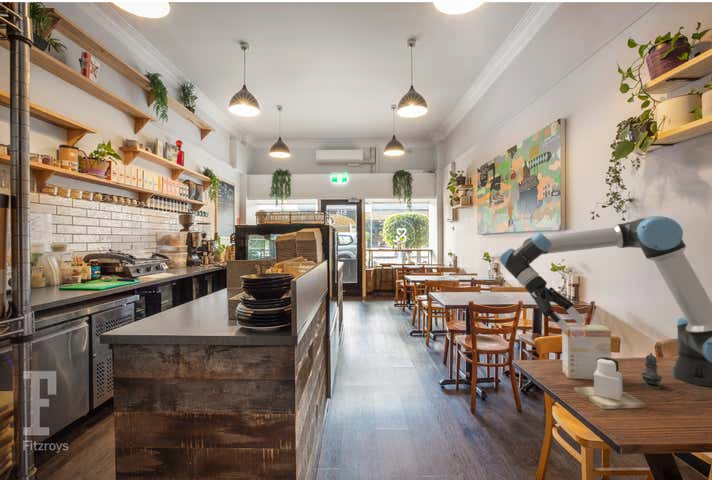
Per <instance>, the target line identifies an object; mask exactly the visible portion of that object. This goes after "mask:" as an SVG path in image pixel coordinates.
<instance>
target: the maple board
mask: <svg viewBox="0 0 712 480" xmlns="http://www.w3.org/2000/svg"><path fill="white" fill-rule="evenodd" d="M573 391H574V392H576V393H577V394H579V395H580V396H582V397H583V398H585V399H587V400H588V401H589V402H591V403H592V404H594V405H596V406H598V408H600V409H602V410H610V409H612V410H615V409H638V408H639V409H641V408H642V409H643V408H647V406H646V404H647V403H645V402H643V401H641V400H640V399H638V398H637V397H634V396H632V395H630V394H629V393H627V392H625V391H624V390H622V396H621V398H620V400H619V401H618V400H613V399H609V398H605V397H601V396H596V395H594V386H577V387H575V386H574V388H573Z"/></svg>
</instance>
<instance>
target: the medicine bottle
mask: <svg viewBox="0 0 712 480" xmlns="http://www.w3.org/2000/svg"><path fill="white" fill-rule="evenodd" d="M592 381H593V386H592V387H594V395H596V396H601V397H605V398H609V399H613V400H618V401H619V400H620V398H621V396H622V391H623V374H622V373H621V372H619V361H618V360H616V359H614V358H612V357H611V358H606V357H601V358H598V359H597V370H596V371H595V373H594V374H593V380H592Z"/></svg>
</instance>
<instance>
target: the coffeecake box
mask: <svg viewBox="0 0 712 480" xmlns="http://www.w3.org/2000/svg"><path fill="white" fill-rule="evenodd" d="M568 325H569V326H570V327H569V328H567V329H566V330H565V331H563V330H562V329H561V343H562V345H561V349H562V351H561V352H562V353H561V354H562V355H561V358H562V373H563V374H564V375H565V376H566V377H567V378H568V379H573V380H574V379H575V380H592V381H593V374H594V373H595V371H596V370H597V359H598V358H601V357H606V358H612V342H611V341H612V335H611V334H612V331H611V329H609V328H607V327H606V326H605V325H601V324H600V325H599V324H597V325H596V324H581V325H579V324H568Z"/></svg>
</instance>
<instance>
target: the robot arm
mask: <svg viewBox="0 0 712 480" xmlns="http://www.w3.org/2000/svg"><path fill="white" fill-rule="evenodd" d="M683 237H684V232H683V228H682V226H681V225H680V224H679V223H678V222H677V221H676V220H675V219H672V218H671V217H666V216H660V215H655V216H654V215H653V216H649V217H642V218H639V219H636V220H633V221H629V222H624V223H618V224H617V223H616V224H615V225H614V226H613V227H608V228H607V227H605V228H600V229H592V230H583V231H575V232H569V233H561V234H553V235H552V234H551V235H544V234H543V233H541V232H536V233H535V234H534V235H532V236H531V237H529V238H527V239H525V240H524V241H523V243H522V244H521V246H519V247H518V248H517V249H514V248H508V249H507V250H505V251H504V252H503V253H501V255H500V256H499V262H500V263H501V265H502V266H503V267H504V268H505V269H506V270H507V271H508V272H509V273H510V274H511V275H512V276H513V277H514V278H515V279H516V280H517V281H518V283H519V285H521V286H522V287H524V288H525V290H526V291H527V292H528V293H529V294H530V296H531V297H532V299H533V300H534V302H535V304H536V305H537V307H538V308H539V311H540V312H541V314H542V315H543V316H545V318H548V317H549V318H550V319H551V320H552V321H553V322H554V323H555V324H556V325H557V326H558V327H559V328H560V330H561V331H562V330H563V331H565V330H566V329H567V328H569V327H570V326H569V325H570V324H568V323H567V322H566V320H565V319H563V318H562V317H561V315H560V314H558V312H556V310H555V311H554V309H553V306H552V304H551V303H554V304H556V305H558V306H559V307H561V308H563V309H564V310H566V312H567V313H568V314H569V316H571V317H572V319H573V320H574V321H576V323H578V325H583V323H584V322H586V321H587V319H585V317H584V316H583V315H581V313H579V312H578V311H577V309H575V308H574V307H573V306H574V304H575V303H574V302H572V301H571V300H569V299H568V298H566V297H565V296H563V295H562V294H561V293H559V292H558V291H556V290H555V288H553V287H550V288H548V287H547V284H548V283H547V281H546V279H544V278H543V277H542V276H540V275H539V273H538V272H537V271H536V270H535V269H534V268H533V267H532V266H531V263H533V262H534V261H535V260H536V259H538V258H539V257H541V256H542V255H546V254H547V255H549V254H556V253H565V252H573V251H582V250H583V251H585V250H592V249H600V248H603V249H604V248H612V247H617V248H619V249H625V248H639V249H641V251H642V253H643V254H644V256H645V258H646V259H647V260H650V261H652V262H654V264H655V265H656V267H657V269H658V272H659V273H660V275H661V276H662V278H663V280H664V282H665V284H666V286H667V288H668V289H669V291H670V292H671V295H672V296H673V298H674V300H675V302H676V304H677V306H678V307H679V309H680V311H681V312H682V314H683V316H684V317H678V319H677V325H676V329H677V350H678V351H677V353H678V354H677V358H676V360H675V362H674V363H675V364H674V366H673V367H672V376H673V377H674V378H676V379H678V380H680V381H683V382H685V383H688V384H693V385H698V386H703V387H710V388H712V300H711V299H710V296H709V295H708V293H707V292H706V290H705V288H704V286H703V285H702V283H701V281H700V279H699V277H698V276H697V273H696V272H695V271H694V269H693V267H692V265H691V264H690V262H689V260H688V257H686V255H685V253H684V252H685V250H686V248H687V245H686V244H685V242H684V240H683Z"/></svg>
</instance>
